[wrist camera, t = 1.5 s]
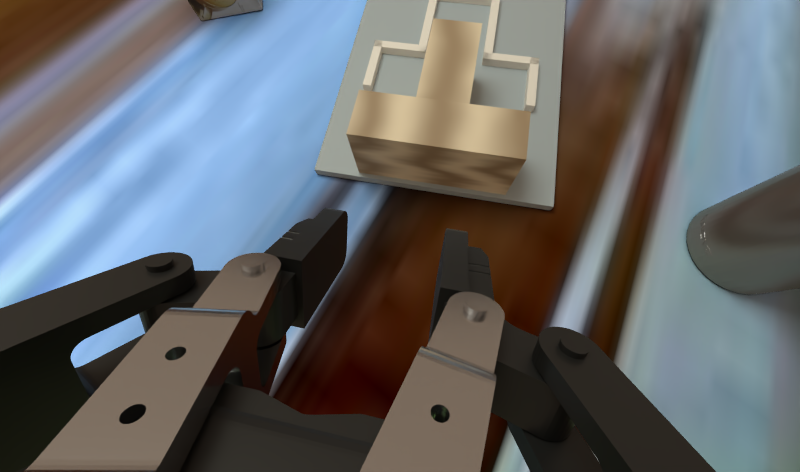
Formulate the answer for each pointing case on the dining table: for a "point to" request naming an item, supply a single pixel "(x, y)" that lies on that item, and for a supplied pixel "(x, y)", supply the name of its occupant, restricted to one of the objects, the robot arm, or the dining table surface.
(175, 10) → the dining table surface
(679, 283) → the dining table surface
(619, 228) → the dining table surface
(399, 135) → the t block
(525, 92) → the board
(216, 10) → the coffee box
